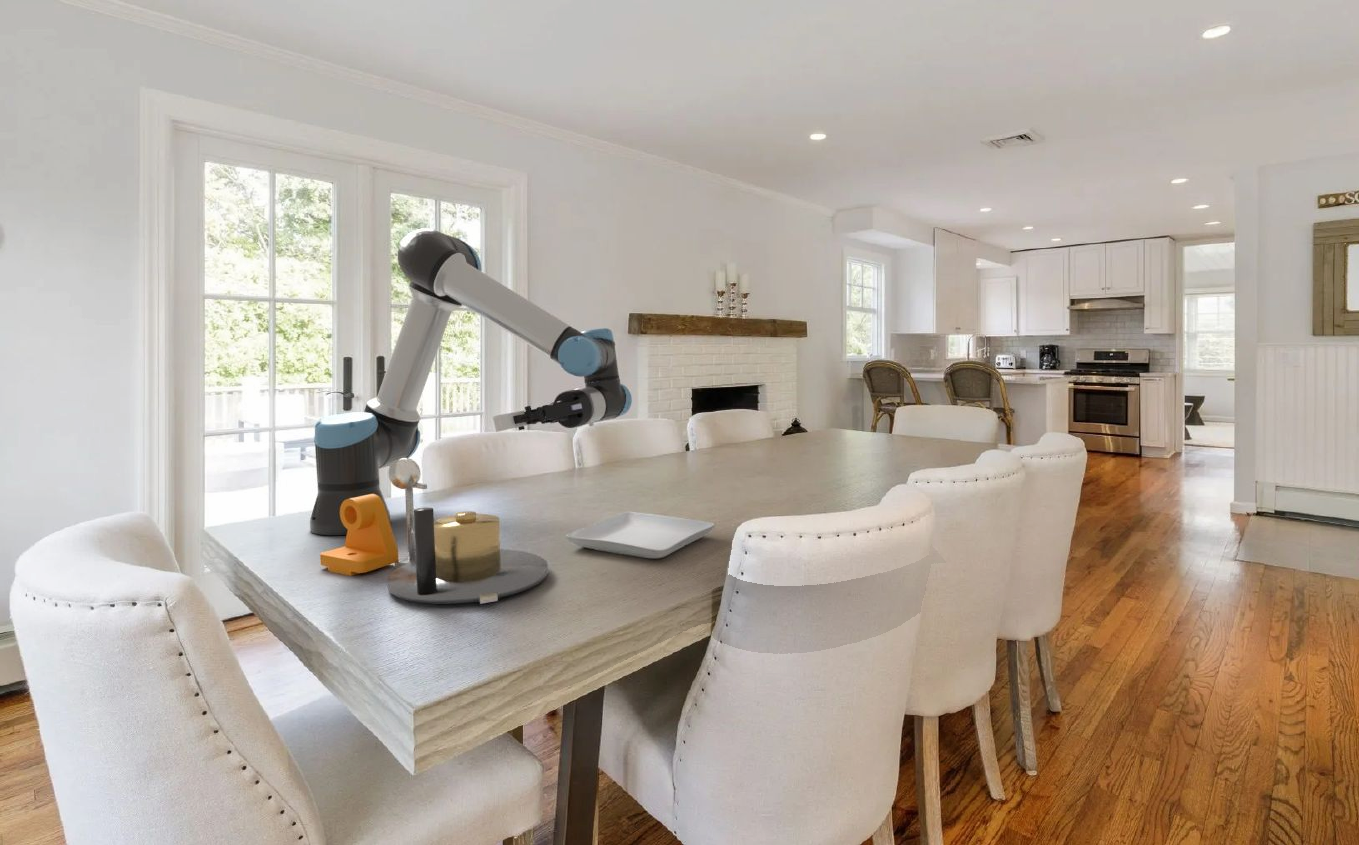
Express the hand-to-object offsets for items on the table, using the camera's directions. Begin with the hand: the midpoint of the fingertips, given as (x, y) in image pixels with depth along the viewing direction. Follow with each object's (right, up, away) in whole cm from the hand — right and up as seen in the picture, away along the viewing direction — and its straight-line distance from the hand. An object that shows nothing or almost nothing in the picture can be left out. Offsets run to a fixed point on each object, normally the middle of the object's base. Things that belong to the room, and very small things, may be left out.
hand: (497, 423), depth 120 cm
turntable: (-1, -25, -12) cm, 27 cm away
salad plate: (+25, -23, +10) cm, 35 cm away
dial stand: (-14, -24, -3) cm, 28 cm away
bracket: (-22, -25, -4) cm, 33 cm away
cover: (-1, -23, -12) cm, 26 cm away
